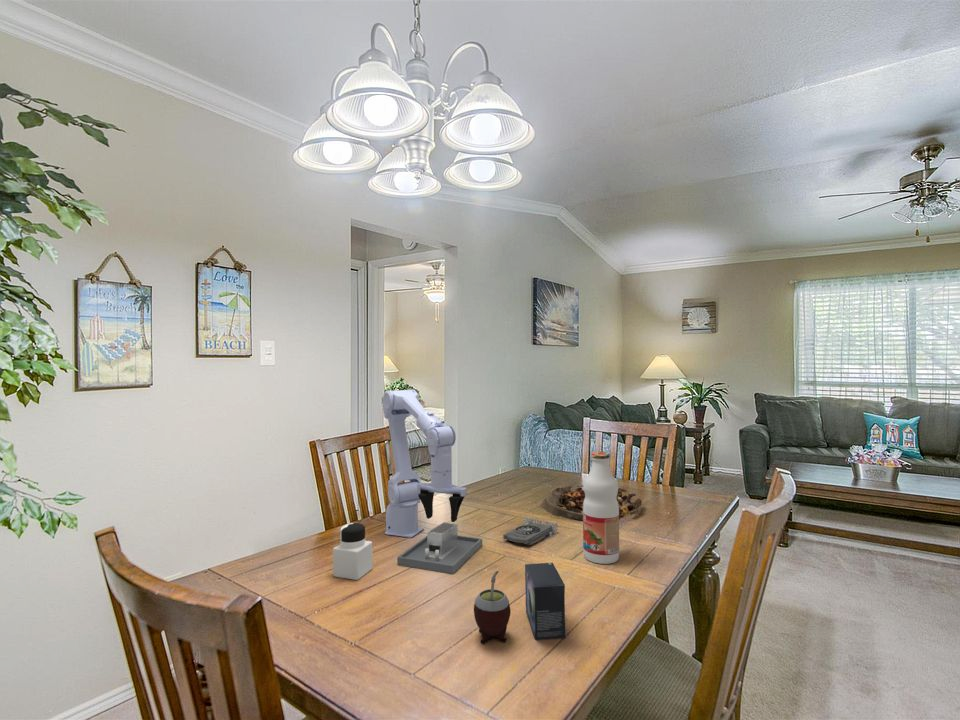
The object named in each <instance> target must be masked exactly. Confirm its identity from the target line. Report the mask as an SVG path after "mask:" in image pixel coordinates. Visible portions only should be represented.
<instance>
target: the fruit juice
mask: <svg viewBox="0 0 960 720" xmlns="http://www.w3.org/2000/svg"><path fill="white" fill-rule="evenodd" d="M610 457H611V456H610V453H609V452H608V451H593V452H592V451H591V453H590V460H591V467H590V471H589V473H588V474H587V476H586V477H585V478H584V480H583V484H582V486H583V487H582V490H584V493H585V499H584V502H583V520H582V534H583V536H582V537H583V538H582V539H583V540H582V542H583V543H582V546H583V547H582V548H583V549H582V550H583V551H582V552H583V557H584V558H585V559H586V560H587V561H589V562H592V563H595V564H601V565H610V564H614V563H616V562H618V561H619V558H620V519H619V505H618V501H617V498H616V497H617V494H618V488H619V483H618V481H617V479H616V478H615V477H614V476H613V474H612V471H611V468H610V463H609V462H610V459H611V458H610Z"/></svg>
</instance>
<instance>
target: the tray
mask: <svg viewBox="0 0 960 720" xmlns="http://www.w3.org/2000/svg"><path fill="white" fill-rule="evenodd" d="M482 547H483V538H482V537H481V538H480V537H472V536H465V535H458V546H456V547H455V548H454V549H452V550H451V551H450V552H448V553H447V554H446V555H444V556H443V557H439V550H435V556H432V555H429V548H427V535H426V536H425V537H423V538H422V539H421V540H419V541H418V542H416V543H415V544H414V545H412V546H411V547H409V548H408V549H407V550H406V551H404V552H403V553H402V554H400V555H398V556H397V557H396V558H397V559H396V560H397V563H396V564H397V566H403V567H408V568H414V569H420V570H426V571H432V572H437V573H445V574H449V575H450V574H451V575H454V574H455V573H456V572H457V571H458V570H459V569H460V568H461V567H462V566H464V564H465V563H466V562H467V561H469V560H470V558H472V556H473V555H475V553H476V552H477V551H478V550H480V549H481V548H482Z"/></svg>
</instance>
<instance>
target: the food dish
mask: <svg viewBox="0 0 960 720" xmlns="http://www.w3.org/2000/svg"><path fill="white" fill-rule="evenodd" d="M573 487H574V485H570V486H568V485H567V486H563V487H555V488H554V489H552V490H551V491H549V492H548V493H547V494H546V495H545V497H544V499H543V501H542V503H540V509H543V511H546V512H547V513H549V514H551V515H553V516H555V517H561V518H565V519H571V520H577V521H583V502H584V499H585V493H584V489H583V485H576V486H575V487H577V488H576V489H573V490H572V488H573ZM571 490H572V491H571ZM627 492H628V490H627V489H624V488H619V487H618V493H617V497H616V498H617V501H618V505H619V520H621V519H623V518H625V517H627V516H632V515H640V514H641V513H642V512H641V511H642V503H643V501H642V500H641V499H642V498H639V497H638V498H637V499H635V501H634V503H633V504H632V502H631V499H632V498H633V497H636V495H637V494H636V493H634V492H633V493H630V494H629V493H628V494H627V495H623V493H627Z"/></svg>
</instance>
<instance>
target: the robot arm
mask: <svg viewBox="0 0 960 720" xmlns="http://www.w3.org/2000/svg"><path fill="white" fill-rule="evenodd" d="M419 399H420V398H419V393H417V391H416V390H415V389H412V388H411V389H402V390H401V389H399V390H386V391H385V392H384V394H383V397H382V401H381V402H382V411H383V414H384V415H383V416H384V419H386V420H388V426H389V428H388V429H389V433H390V435H389V436H390V443H391V448H392V449H391V450H392V456H393V463H394V469H395V470H394V472H395V473H394V474H393V475H392V476H391V477H390V478H389V480H388V481H387V486H388V488H387V489H388V490H387V496H388V500H389V502H390V503H388V505H387V506H386V511H385V532H384V535H388V536H395V537H396V536H397V537H404V538H409V539H410V538H413V537H414V536H416V535H418V534H419V533H421V532H422V531H423V530H424V527H419V506H418V505H419V504H420V503H422V506H423V510H424V512H425V516H426V519H428V520H429V519H431V518H432V517H433V514H434V513H433V512H434V509H433V507H434V506H433V504H434V495H435V493H436V494H443V495H444V494H445V495H451V496H450V497H449V496H448V502H449V505H450V523H455V522H457V520H458V515H459V511H460V508H461V506H462V503H463V501H464V498H465V496H467V494H468V490H467V489H468V488H467V487H463V486H459V485H455V484H453V483H452V482H453V475H452V474H453V473H452V472H453V471H452V469H453V468H452V467H453V465H452V461H453V458H452V457H453V455H452V454H453V453H452V447H453V446H454V445H455V443H456V438H457V435H456V431H455V428H453V426H452V425H451V424H448V425H447V424H443V422H442V421H441V420H440V419H439V418H438V416H436V415H435V413H434V412H433V411H426V409H425V408H424V406H423V405H422V404H421V402H420V400H419ZM410 416H412V417H413V418H414V419H415V420H416V426H417V427H418V428H419V430H420V431H421V432H422V433H423V434H424V435H425V437H426V443H427V445H428V447H427V448H428V452H429V455H430V482H429V483H428V482H422V480H421V475H420V474H418V473H417V472H415V471H414V470H413V467H412V463H411V456H410V455H411V454H410V448H409V442H408V435H407V434H408V433H407V428H406V427H407V426H406V419H407V418H409V417H410Z"/></svg>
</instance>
